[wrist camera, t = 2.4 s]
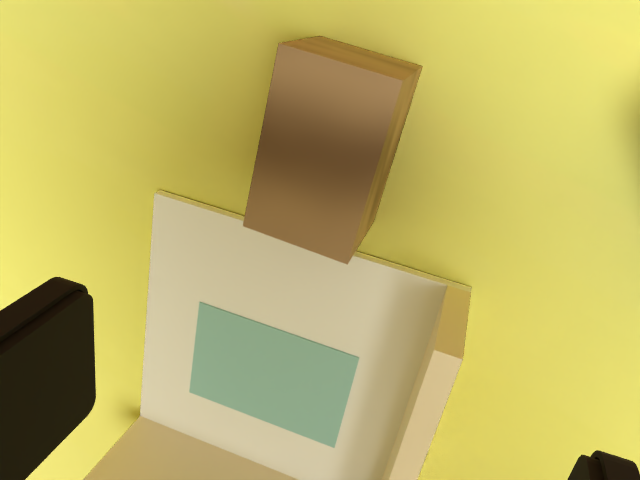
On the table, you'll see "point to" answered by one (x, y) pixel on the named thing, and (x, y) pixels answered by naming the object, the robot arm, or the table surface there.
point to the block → (327, 144)
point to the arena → (284, 358)
